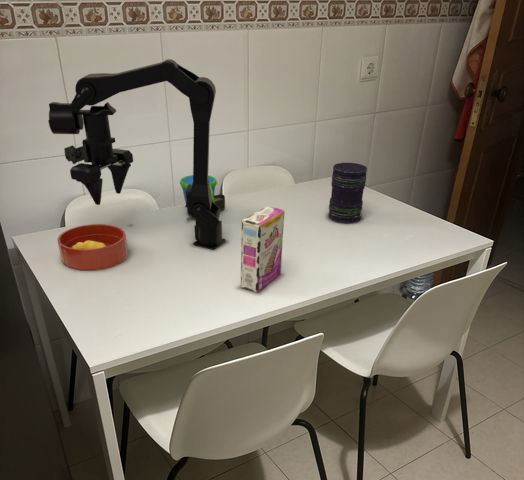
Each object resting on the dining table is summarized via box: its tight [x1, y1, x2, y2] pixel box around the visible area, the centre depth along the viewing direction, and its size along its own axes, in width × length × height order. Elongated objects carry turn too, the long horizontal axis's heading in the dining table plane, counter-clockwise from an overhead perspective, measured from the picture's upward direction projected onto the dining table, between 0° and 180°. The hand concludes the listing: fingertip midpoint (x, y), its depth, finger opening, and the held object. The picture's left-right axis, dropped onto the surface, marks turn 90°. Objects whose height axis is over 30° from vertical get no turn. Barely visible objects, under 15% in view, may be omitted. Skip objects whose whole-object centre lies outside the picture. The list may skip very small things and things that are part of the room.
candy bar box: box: [240, 205, 286, 293], centre depth 119 cm, size 11×5×16 cm, turn 150°
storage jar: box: [328, 162, 368, 225], centre depth 155 cm, size 10×10×15 cm
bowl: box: [57, 223, 129, 272], centre depth 131 cm, size 16×16×6 cm
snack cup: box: [179, 174, 218, 204], centre depth 156 cm, size 16×10×10 cm
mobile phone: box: [186, 193, 226, 221], centre depth 157 cm, size 5×3×15 cm
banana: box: [72, 240, 106, 249], centre depth 131 cm, size 12×4×3 cm, turn 69°
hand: (108, 198), depth 134 cm, fingers open, 9 cm apart
